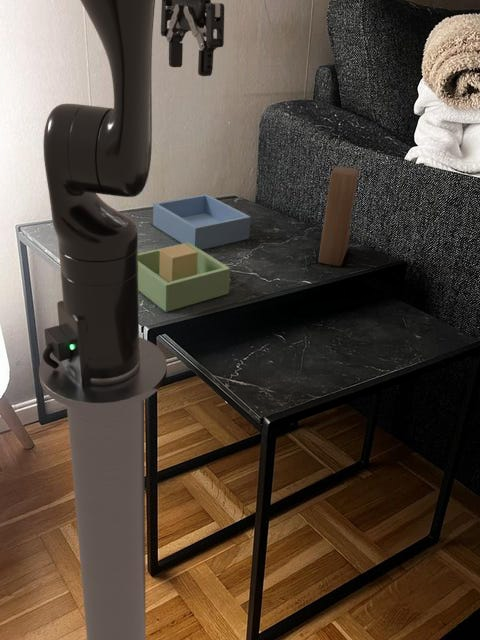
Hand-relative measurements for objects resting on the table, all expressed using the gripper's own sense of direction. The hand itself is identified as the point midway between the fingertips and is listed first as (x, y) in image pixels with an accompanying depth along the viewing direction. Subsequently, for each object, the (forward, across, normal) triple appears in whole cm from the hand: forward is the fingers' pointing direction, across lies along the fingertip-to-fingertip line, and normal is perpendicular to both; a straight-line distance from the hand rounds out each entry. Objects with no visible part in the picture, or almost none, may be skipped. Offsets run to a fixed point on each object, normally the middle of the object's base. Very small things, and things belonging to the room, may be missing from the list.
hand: (189, 71), depth 100 cm
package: (+32, +10, -8) cm, 35 cm away
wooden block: (+33, +14, +26) cm, 45 cm away
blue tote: (+33, -9, +10) cm, 36 cm away
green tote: (+33, +10, -8) cm, 35 cm away
